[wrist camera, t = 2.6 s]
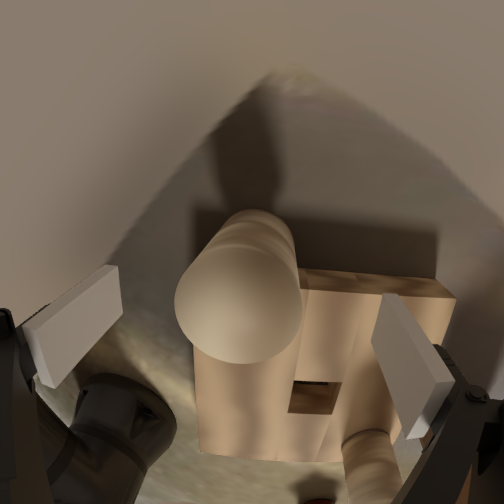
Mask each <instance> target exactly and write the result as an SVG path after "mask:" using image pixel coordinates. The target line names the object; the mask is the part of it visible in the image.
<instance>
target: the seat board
mask: <svg viewBox="0 0 504 504" xmlns="http://www.w3.org/2000/svg"><path fill="white" fill-rule="evenodd" d="M297 269H298V276H299V284H300V291H301V299H302V309H303V312H302V321H301V325H300V328H299V330H298V333H297V334H296V336H295V338H294V339H293V341H292V342H291V343H290V344H289V345H288V346H287V347H286V348H285V349H284V350H283V351H282V352H280V353H279V354H277V355H275V356H274V357H272V358H269V359H267V360H264V361H261V362H257V363H250V364H236V363H229V362H225V361H221V360H218V359H216V358H213V357H211V356H209V355H207V354H205V353H204V352H202V351H201V350H199V349H198V348H197V347H196V346H195V345H194V344H193V349H194V372H195V391H196V407H197V421H198V434H199V446H200V452H205V453H211V454H217V455H224V456H231V457H239V458H248V459H259V460H271V461H289V462H343V463H344V471H345V478H346V486H347V494H348V503H349V504H391V502H392V501H393V499H394V498H395V497H396V495H397V494H398V492H399V491H400V489H401V488H402V486H403V483H402V480H401V476H400V472H399V468H398V465H397V461H396V458H395V454H394V451H393V447H392V445H393V443H394V442H395V440H396V438H397V437H398V435H399V433H400V431H401V430H402V426H401V423H400V420H399V417H398V414H397V412H396V409H395V406H394V403H393V400H392V397H391V394H390V392H389V389H388V386H387V383H386V381H385V378H384V375H383V373H382V370H381V367H380V365H379V362H378V359H377V357H376V354H375V352H374V349H373V347H372V344H371V342H370V341H371V337H372V334H373V330H374V327H375V323H376V319H377V315H378V312H379V308H380V304H381V300H382V295H383V293H392V294H398V296H399V297H400V298H401V300H402V301H403V303H404V304H405V305H406V307H407V308H408V310H409V311H410V312H411V314H412V315H413V317H414V318H415V320H416V321H417V322H418V324H419V325H420V327H421V328H422V330H423V331H424V333H425V334H426V336H427V337H428V339H429V340H430V342H431V343H432V344H438V345H440V346H441V344H442V341H443V338H444V336H445V333H446V330H447V327H448V324H449V322H450V319H451V316H452V313H453V310H454V306H455V303H456V300H457V298H456V297H455V296H453V295H452V294H451V293H450V292H449V291H448V290H447V289H446V288H445V287H444V286H443V285H442V284H440V283H439V282H438V281H437V280H436V279H429V278H416V277H403V276H390V275H378V274H365V273H353V272H341V271H330V270H318V269H306V268H297ZM294 380H298V381H318V382H328V385H308V384H293V382H294Z"/></svg>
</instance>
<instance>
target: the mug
mask: <svg viewBox="0 0 504 504" xmlns="http://www.w3.org/2000/svg"><path fill="white" fill-rule="evenodd" d="M305 504H335V503H334V502H332V501H330V500H325V499H318V500H312V501H309V502H306V503H305Z"/></svg>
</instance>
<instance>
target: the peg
mask: <svg viewBox="0 0 504 504" xmlns="http://www.w3.org/2000/svg"><path fill="white" fill-rule="evenodd" d="M174 305H175V313H176V317H177V320H178V323H179V325H180V327H181V329H182V331H183V333H184V334H185V335H186V337H187V338H188V339H189V340H190V341H191V342H192V344H194V345H195V346H196V347H197V348H198V349H199V350H201V351H202V352H204V353H205V354H207V355H209V356H211V357H213V358H216V359H218V360H221V361H225V362H229V363H236V364H250V363H257V362H261V361H264V360H267V359H269V358H272V357H274V356H275V355H277V354H279V353H280V352H282V351H283V350H284V349H285V348H286V347H287V346H288V345H289V344H290V343H291V342H292V341H293V339H294V338H295V336H296V334H297V333H298V330H299V328H300V325H301V321H302V312H303V309H302V299H301V291H300V284H299V276H298V269H297V262H296V255H295V244H294V238H293V235H292V232H291V230H290V228H289V226H288V225H287V224H286V222H285V221H284V220H283V219H282V218H281V217H279V216H278V215H276V214H275V213H273V212H271V211H268V210H265V209H259V208H251V209H245V210H242V211H239V212H237V213H235V214H234V215H232V216H231V217H230V218H229V219H228V220H227V221H226V222H225V223H224V224H223V225H222V227H221V229H220V230H219V231H218V232H217V233H216V235H215V236H214V237H213V238H212V239H211V241H210V242H209V243H208V244H207V246H206V247H205V248H204V249H203V250H202V252H201V253H200V254H199V255H198V257H197V258H196V259H195V260H194V261H193V263H192V264H191V265H190V266H189V268H188V269H187V270H186V271H185V273H184V274H183V276H182V277H181V279H180V281H179V283H178V286H177V289H176V293H175V304H174Z"/></svg>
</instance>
